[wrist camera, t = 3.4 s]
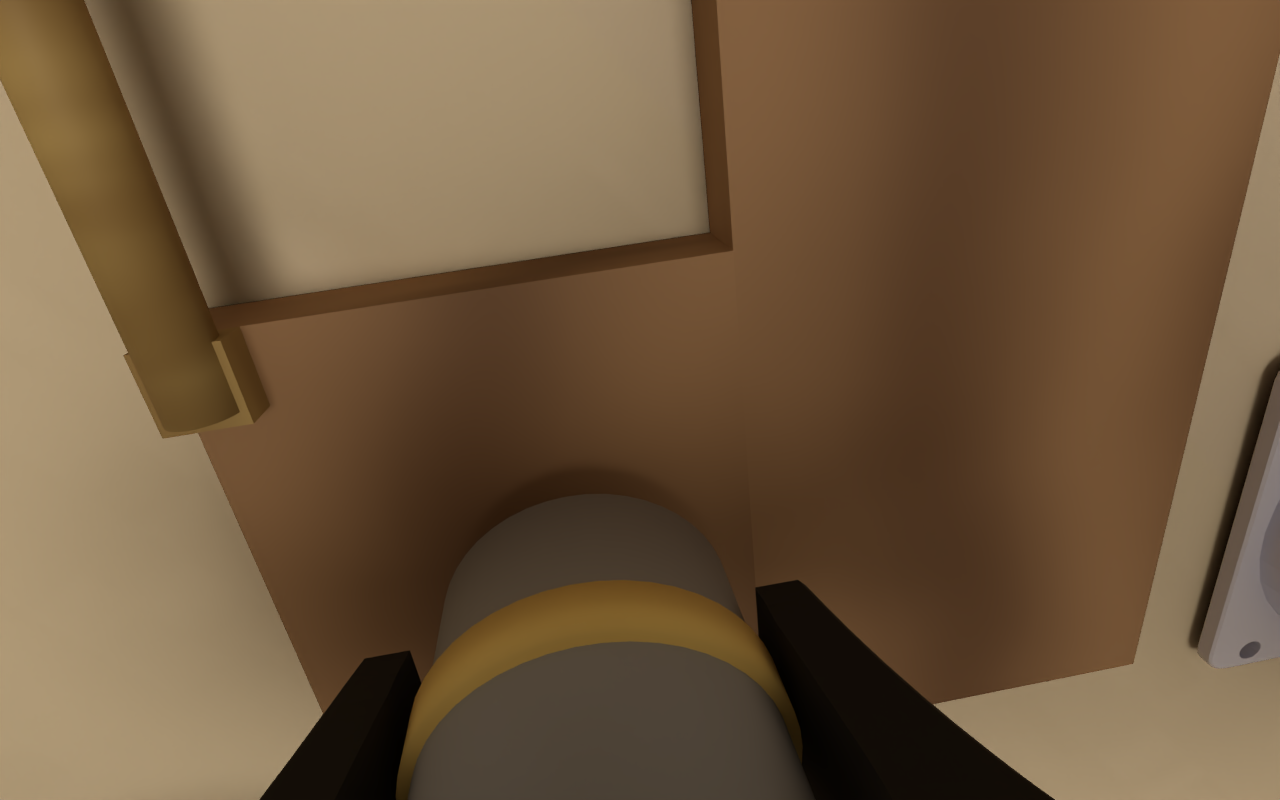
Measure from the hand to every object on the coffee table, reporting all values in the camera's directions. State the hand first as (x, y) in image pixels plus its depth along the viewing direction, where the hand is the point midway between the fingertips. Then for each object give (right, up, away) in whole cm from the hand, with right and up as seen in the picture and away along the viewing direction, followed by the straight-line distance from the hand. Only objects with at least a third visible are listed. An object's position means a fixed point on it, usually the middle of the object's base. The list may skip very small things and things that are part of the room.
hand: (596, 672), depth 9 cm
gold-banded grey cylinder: (0, 0, +1) cm, 1 cm away
